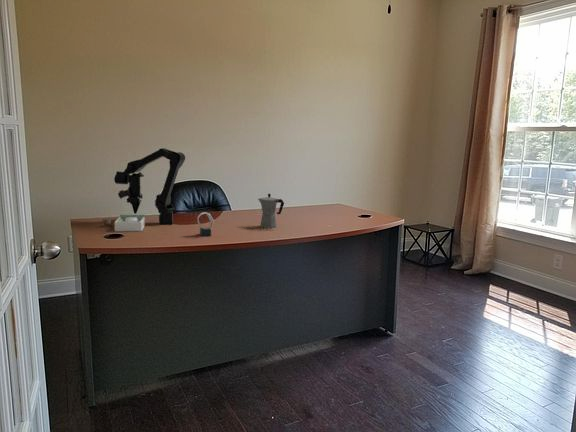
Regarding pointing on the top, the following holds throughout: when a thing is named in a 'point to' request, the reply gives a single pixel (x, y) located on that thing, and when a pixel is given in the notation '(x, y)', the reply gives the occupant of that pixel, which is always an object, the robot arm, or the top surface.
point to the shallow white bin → (129, 225)
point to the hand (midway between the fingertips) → (135, 213)
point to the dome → (131, 219)
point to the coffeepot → (269, 211)
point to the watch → (207, 230)
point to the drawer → (131, 216)
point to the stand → (106, 222)
